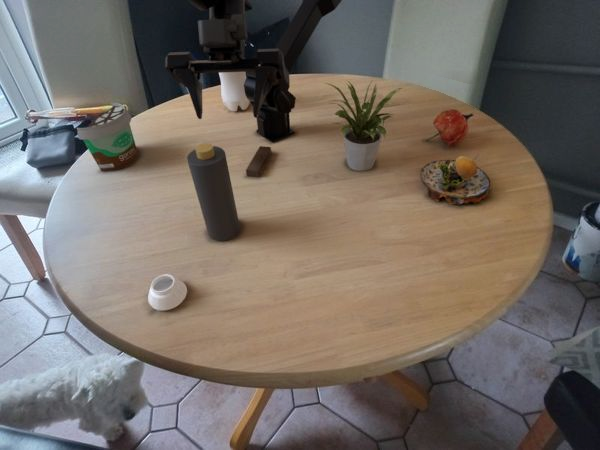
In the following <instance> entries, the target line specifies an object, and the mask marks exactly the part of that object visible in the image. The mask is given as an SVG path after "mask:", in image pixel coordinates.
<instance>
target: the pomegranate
mask: <svg viewBox="0 0 600 450" xmlns="http://www.w3.org/2000/svg"><path fill="white" fill-rule="evenodd" d="M471 117H474V114H473V113H469V114H463V113H462V112H461V111H460V110H458V109H452V108H451V109H445V110H442V111H441V112H440V113H439V114H438V115H436V117H435V118H434V120H433V122H432V125H433V126H434V128H435V129H436V130H437V133H436V134H434V135H433V136H431V137H429V138H426V139H425V141H426V142H428V141H430V140H432V139H434V138H436V137H437V136H439V137H440V139H441V140H442V141H443V142H444V144H445V145H446V146H448V147H450V146H455V145H457V144H460V143H461V142H462V141H463V140H465V138H466V137H467V135H468V133H469V130H470V127H469V123H468V121H469V119H470V118H471Z"/></svg>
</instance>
